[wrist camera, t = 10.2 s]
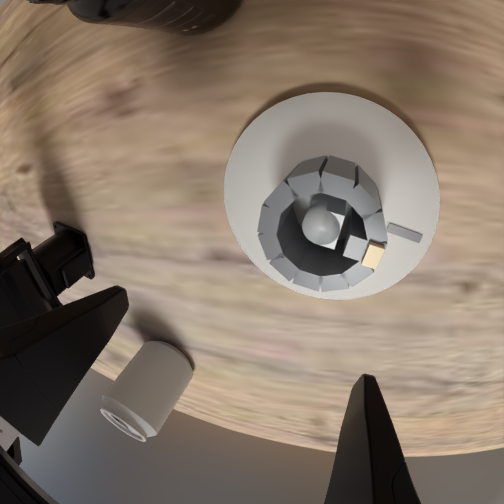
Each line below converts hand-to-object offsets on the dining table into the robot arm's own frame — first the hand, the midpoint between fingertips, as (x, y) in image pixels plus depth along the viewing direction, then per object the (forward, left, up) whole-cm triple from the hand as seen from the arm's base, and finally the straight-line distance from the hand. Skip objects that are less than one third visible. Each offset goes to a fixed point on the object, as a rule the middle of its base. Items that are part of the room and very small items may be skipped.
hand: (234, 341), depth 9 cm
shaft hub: (+2, +1, -12) cm, 12 cm away
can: (-11, -24, -12) cm, 29 cm away
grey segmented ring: (+2, +1, -11) cm, 11 cm away
